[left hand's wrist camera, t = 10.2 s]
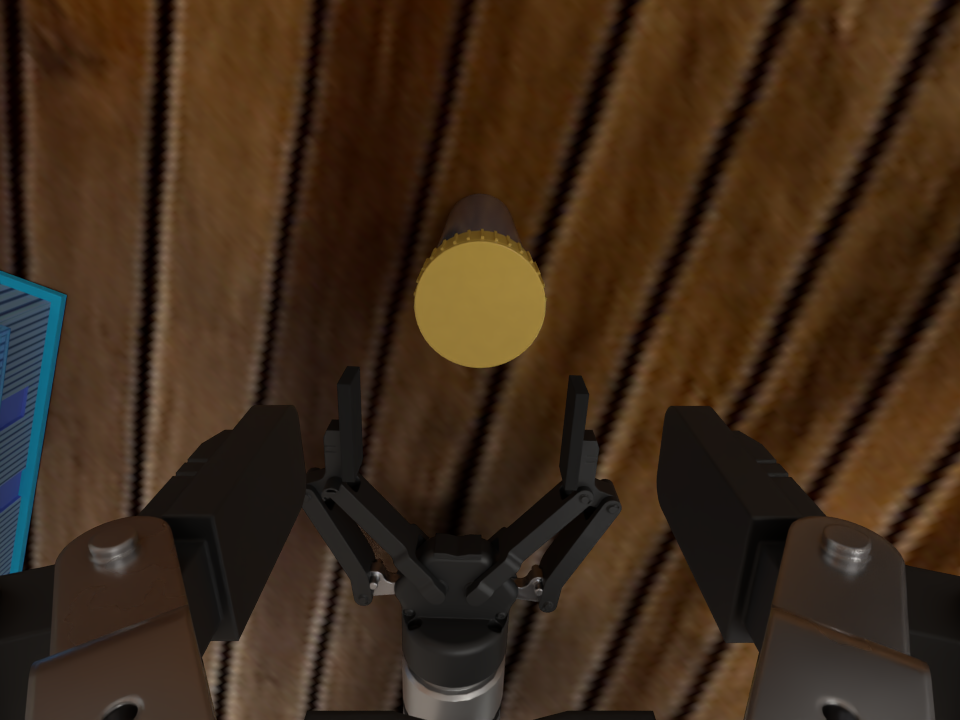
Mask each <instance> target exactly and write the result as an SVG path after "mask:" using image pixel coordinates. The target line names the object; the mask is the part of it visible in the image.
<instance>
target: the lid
mask: <svg viewBox="0 0 960 720" xmlns="http://www.w3.org/2000/svg"><path fill="white" fill-rule="evenodd" d="M416 283H418V284H417V287H416V289H415V291H414V296H415V299H414V310H415V317H416V321H417V324H418V327H419V329H420V331H421V333H422V335H423V337H424V338H425V340H426V341H427V342H428V344H429V345H430V346H431V347H432V348H433V349H434V350H435V351H436V352H437V353H439V354H440V355H441V356H442V357H444V358H446V359H448V360H449V361H452V362H454V363H456V364H459V365H463V366H467V367H473V368H486V367H493V366H498V365H501V364H504V363H506V362H508V361H511V360H513V359H514V358H516V357H517V356H519V355H520V354H522V353H523V352H524V351H525V350H526V349H527V348H528V347H529V346H530V345H531V344H532V343H533V341H534V340H535V338H536V337H537V335H538V333H539V331H540V329H541V327H542V324H543V321H544V316H545V313H546V311H545V309H546V300H547V298H546V295H545V293H544V287H545V285H544V282H543V280H542V277H541V275H540V271H539V269H538V267H537V264H536V262H534V263H533V260H532V258H531V255H530V253H529V252H528V251H527V252H526V251H525V250H524V249H523V248H522V246H521V244H520V243H519V242H518V243H516V242H515V241H513V240H512V239H510V236H508V235H507V236H504V235H501V234H498V233H497V231H494V232H490V231H484V229H481V231H470V230H468V231H467V232H465V233H462V234H459V235H458V233H456V234H455V235H454V237H452V238H450V239H448V240H447V241H446V239H445V240H443V243H442V244H441V245H440V246H439V247H438V248H437V249H436V248H434V249H433V252H432V254H431V256H430V258H429V259H428V258H427V259H426V260H425V263H424V265H423V268H422V269H421V271H420V274H419V276H418V279H417V281H416Z"/></svg>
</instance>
